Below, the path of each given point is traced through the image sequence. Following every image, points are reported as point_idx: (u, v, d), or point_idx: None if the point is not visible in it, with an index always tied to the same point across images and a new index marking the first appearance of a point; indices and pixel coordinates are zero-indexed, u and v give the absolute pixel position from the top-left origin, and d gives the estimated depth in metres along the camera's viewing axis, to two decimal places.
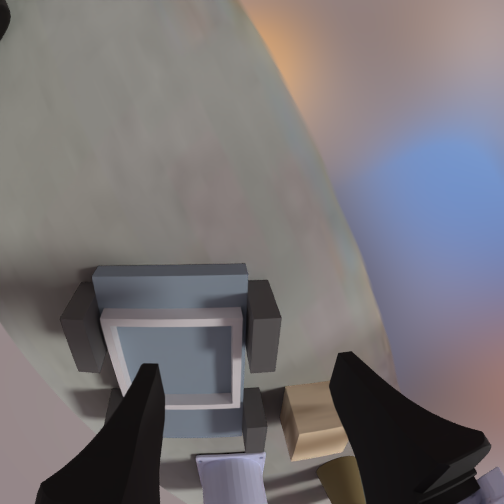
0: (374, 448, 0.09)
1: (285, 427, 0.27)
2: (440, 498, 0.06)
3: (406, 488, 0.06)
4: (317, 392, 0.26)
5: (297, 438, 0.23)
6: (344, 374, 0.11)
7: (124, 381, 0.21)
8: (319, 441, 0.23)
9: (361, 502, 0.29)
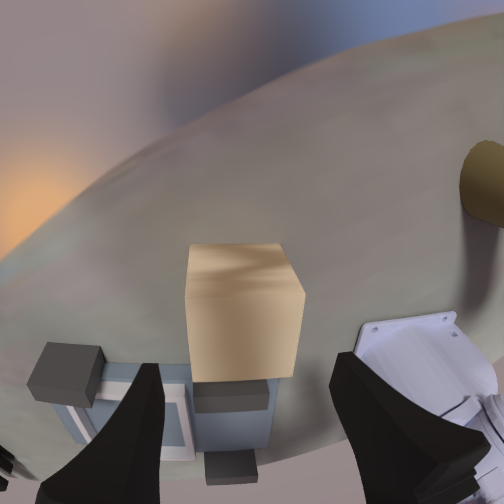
0: (374, 448, 0.09)
1: None
2: (440, 498, 0.06)
3: (406, 488, 0.06)
4: None
5: None
6: (344, 374, 0.11)
7: None
8: (230, 351, 0.14)
9: None
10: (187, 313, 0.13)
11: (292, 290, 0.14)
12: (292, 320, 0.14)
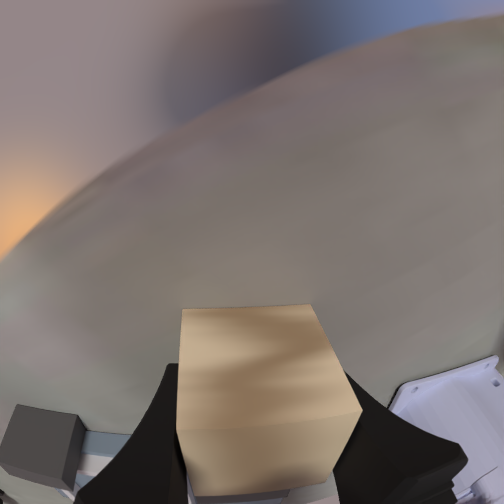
0: (347, 455, 0.09)
1: None
2: None
3: (376, 499, 0.06)
4: None
5: None
6: None
7: None
8: (246, 473, 0.08)
9: None
10: (182, 444, 0.07)
11: (342, 404, 0.08)
12: (337, 438, 0.08)
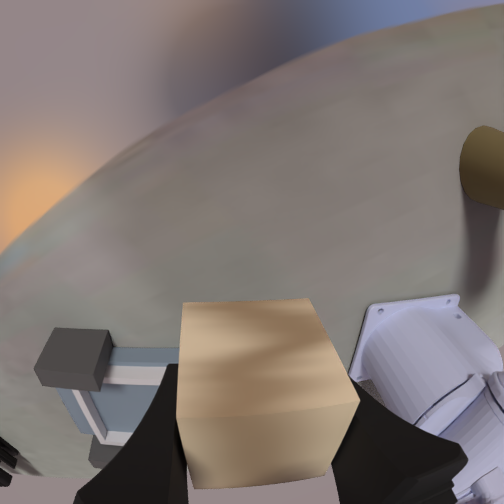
0: (347, 455, 0.09)
1: None
2: None
3: (376, 499, 0.06)
4: None
5: None
6: None
7: None
8: (245, 464, 0.09)
9: None
10: (181, 433, 0.08)
11: (340, 394, 0.08)
12: (335, 429, 0.08)
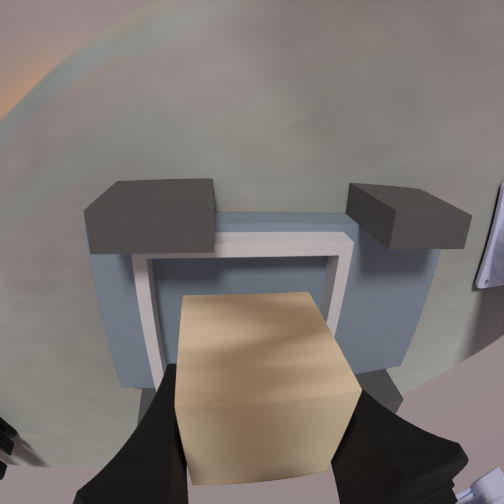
0: (347, 455, 0.09)
1: None
2: None
3: (376, 499, 0.06)
4: None
5: None
6: None
7: None
8: (245, 458, 0.09)
9: None
10: (180, 423, 0.07)
11: (342, 384, 0.08)
12: (337, 421, 0.08)
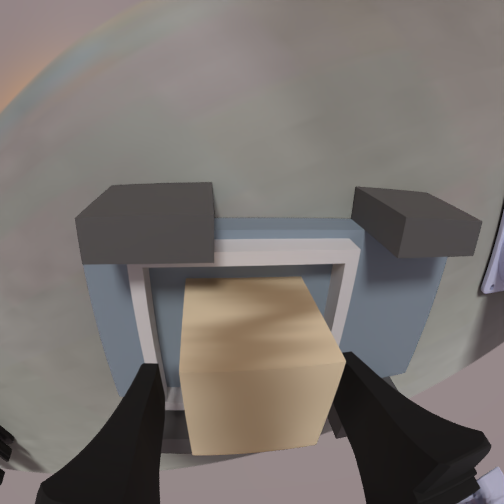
0: (374, 448, 0.09)
1: None
2: (440, 498, 0.06)
3: (406, 488, 0.06)
4: None
5: None
6: (344, 374, 0.11)
7: None
8: (241, 426, 0.10)
9: None
10: (183, 389, 0.09)
11: (328, 356, 0.09)
12: (325, 391, 0.10)
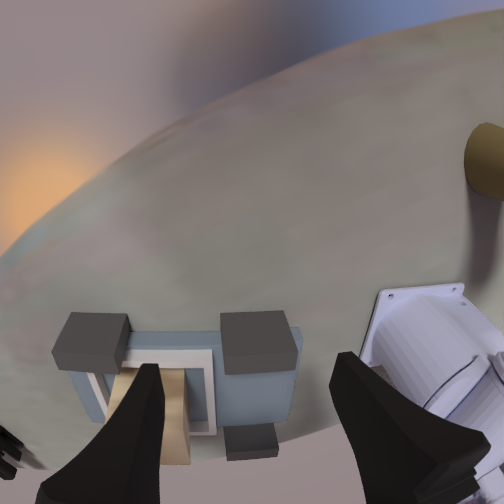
0: (374, 448, 0.09)
1: None
2: (440, 498, 0.06)
3: (406, 488, 0.06)
4: None
5: None
6: (344, 374, 0.11)
7: None
8: None
9: None
10: None
11: (174, 425, 0.17)
12: (178, 440, 0.17)
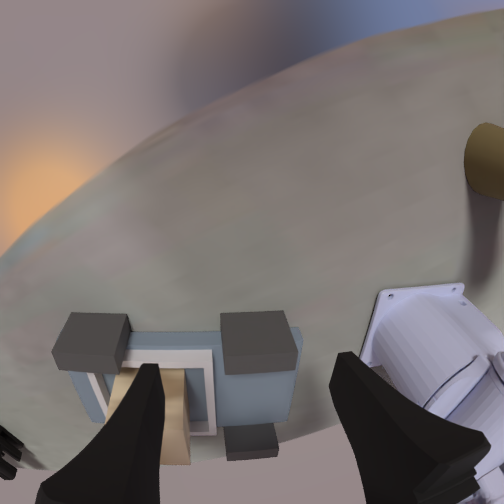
0: (374, 448, 0.09)
1: None
2: (440, 498, 0.06)
3: (406, 488, 0.06)
4: None
5: None
6: (344, 374, 0.11)
7: None
8: None
9: None
10: None
11: (174, 425, 0.17)
12: (178, 440, 0.17)
